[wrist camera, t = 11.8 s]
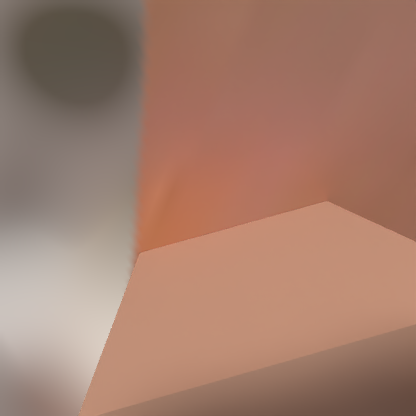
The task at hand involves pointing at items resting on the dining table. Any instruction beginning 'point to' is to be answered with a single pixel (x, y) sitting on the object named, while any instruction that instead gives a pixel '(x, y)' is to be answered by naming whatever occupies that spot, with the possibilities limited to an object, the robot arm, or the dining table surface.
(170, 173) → the dining table surface
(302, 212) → the terracotta brick
